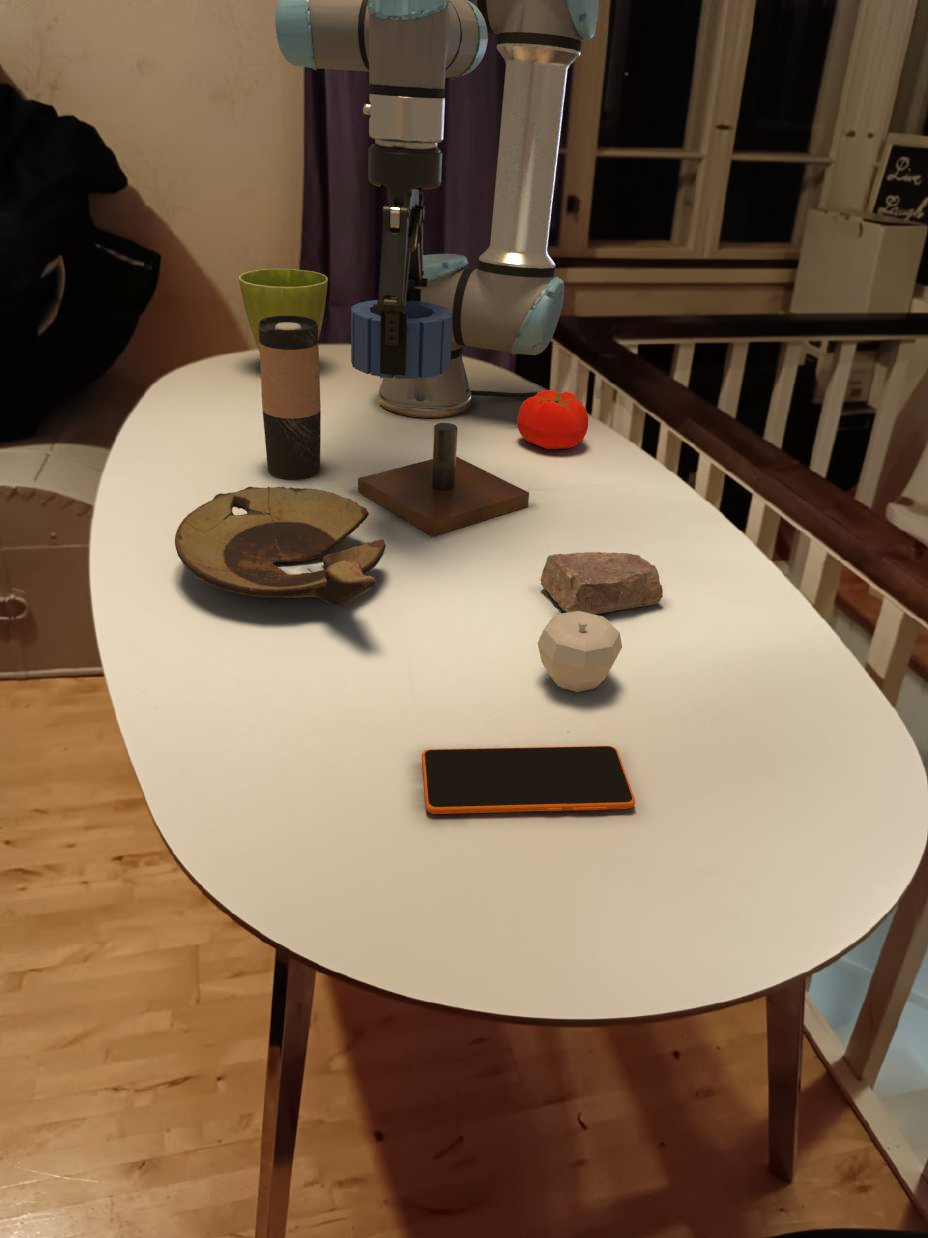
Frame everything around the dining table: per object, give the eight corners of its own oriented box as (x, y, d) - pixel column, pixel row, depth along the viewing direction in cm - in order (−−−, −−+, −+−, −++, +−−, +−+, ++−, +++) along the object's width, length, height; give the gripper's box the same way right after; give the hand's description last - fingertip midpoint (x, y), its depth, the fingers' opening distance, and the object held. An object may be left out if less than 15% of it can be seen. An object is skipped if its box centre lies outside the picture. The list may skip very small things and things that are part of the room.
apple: (570, 649, 96) (577, 592, 93) (633, 683, 91) (643, 625, 88) (516, 678, 91) (522, 619, 88) (580, 716, 86) (588, 655, 83)
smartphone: (421, 755, 80) (421, 747, 80) (614, 752, 82) (616, 744, 82) (426, 817, 74) (426, 809, 73) (636, 813, 76) (638, 804, 75)
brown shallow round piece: (361, 517, 120) (361, 459, 116) (416, 644, 95) (418, 576, 91) (176, 530, 114) (169, 470, 110) (184, 669, 89) (175, 597, 85)
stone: (625, 570, 111) (631, 533, 109) (667, 609, 104) (675, 571, 102) (534, 584, 107) (538, 546, 104) (571, 625, 100) (577, 586, 97)
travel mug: (327, 461, 135) (324, 317, 124) (314, 482, 128) (310, 332, 118) (274, 457, 135) (266, 312, 125) (259, 477, 129) (249, 327, 118)
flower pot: (227, 368, 169) (220, 274, 161) (291, 353, 179) (287, 264, 171) (283, 388, 161) (278, 291, 153) (347, 371, 171) (346, 279, 163)
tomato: (550, 462, 139) (555, 412, 135) (501, 438, 146) (505, 391, 142) (601, 448, 145) (608, 400, 141) (552, 426, 152) (557, 380, 148)
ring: (409, 347, 115) (411, 295, 112) (468, 369, 108) (472, 315, 105) (332, 359, 109) (332, 305, 106) (390, 384, 102) (391, 327, 99)
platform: (451, 467, 135) (454, 398, 130) (528, 506, 125) (535, 433, 120) (357, 492, 126) (357, 419, 121) (432, 536, 116) (435, 459, 111)
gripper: (386, 133, 107) (383, 331, 118) (347, 150, 87) (348, 386, 98) (452, 138, 107) (443, 335, 118) (429, 155, 86) (421, 392, 98)
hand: (400, 359), depth 108 cm, fingers closed on ring, 11 cm apart
